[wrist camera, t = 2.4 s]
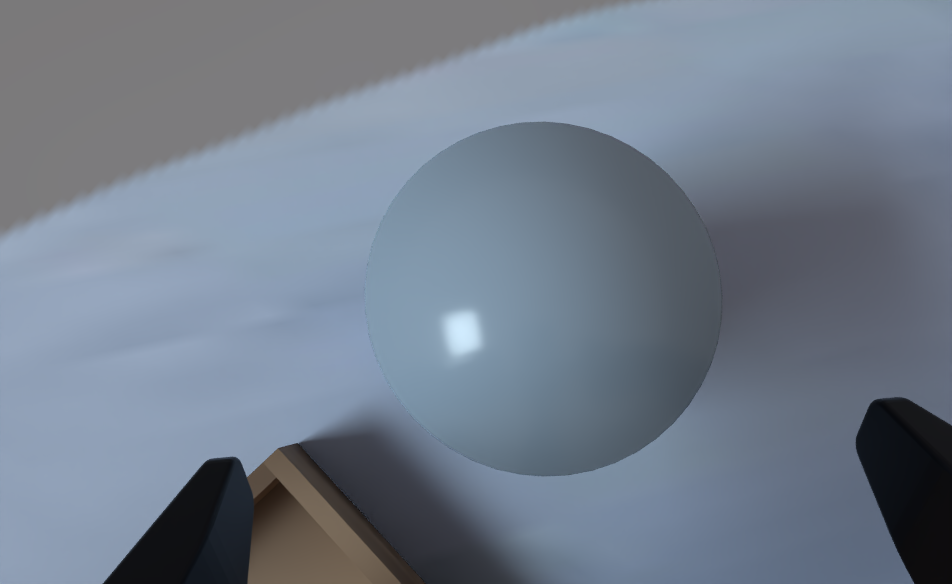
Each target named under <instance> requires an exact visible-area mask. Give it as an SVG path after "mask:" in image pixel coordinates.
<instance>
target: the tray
mask: <svg viewBox="0 0 952 584" xmlns="http://www.w3.org/2000/svg"><path fill="white" fill-rule="evenodd" d="M247 479H248V482H249V485H250V487H251V490H252V493H253V498H254V515H253V526H252V538H251V549H250V561H249V572H248V584H426V583H425V582H424V581H423V580H422V579H421V578H420V577H419V576H418V575H417V574H416V572H415V571H414V570H413V569H412V568H411V567H410V566H409V565H408V564H407V563H406V561H405V560H404V559H403V558H402V557H401V556H400V555H399V554H398V553H397V552H396V551H395V549H394V548H393V547H392V546H391V545H390V544H389V543H388V542H387V541H386V540H385V539H384V537H383V536H382V535H381V534H380V533H379V532H378V531H377V530H376V529H375V528H374V526H373V525H372V524H371V523H370V522H369V521H368V520H367V519H366V518H365V517H364V516H363V514H362V513H361V512H360V511H359V510H358V509H357V508H356V507H355V506H354V505H353V503H352V502H351V501H350V500H349V499H348V498H347V497H346V496H345V495H344V494H343V493H342V491H341V490H340V489H339V488H338V487H337V486H336V485H335V484H334V483H333V482H332V480H331V479H330V478H329V477H328V476H327V475H326V474H325V473H324V472H323V471H322V470H321V468H320V467H319V466H318V465H317V464H316V463H315V462H314V461H313V460H312V459H311V458H310V456H309V455H308V454H307V453H306V452H305V451H304V450H303V449H302V448H301V447H300V445H299V444H298V443H296V444H292V445H288V446H285V447H281V448H278V449H277V450H276V451H275V452H274V453H273V454H272V455H270V456H269V457H268V458H267V459H266V460H265V461H264V462H263V463H262V464H261V465H260V466H259V467H258V468H257V469H256V470H255V471H253V472H252V473H251V474H250V475H249V476H248V477H247Z"/></svg>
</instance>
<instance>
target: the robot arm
mask: <svg viewBox="0 0 952 584" xmlns="http://www.w3.org/2000/svg"><path fill="white" fill-rule="evenodd" d="M856 450H857V454H858V457H859V459H860V461H861V464H862V466H863V469H864V471H865V474H866V476H867V479H868V481H869V484H870V486H871V489H872V491H873V493H874V496H875V498H876V501H877V503H878V506H879V508H880V511H881V513H882V516H883V518H884V520H885V523H886V525H887V528H888V530H889V533H890V535H891V537H892V540H893V542H894V544H895V546H896V549H897V551H898V553H899V555H900V557H901V559H902V561H903V563H904V565H905V567H906V569H907V571H908V572H909V574H910V576H911V578H912V580H913V582H914V584H952V425H950V424H948V423H947V422H945V421H943V420H942V419H940V418H938V417H937V416H935V415H933V414H932V413H930V412H928V411H927V410H925V409H924V408H922V407H920V406H919V405H917V404H915V403H914V402H912V401H910V400H908V399H906V398H902V397H894V398H883V399H876V400H874V401H873V402H872V403H871V404H870V406H869V408H868V410H867V412H866V415H865V417H864V419H863V422H862V424H861V426H860V429H859V431H858V434H857V436H856ZM253 515H254V498H253V493H252V490H251V487H250V485H249V482H248V479H247V477H246V474H245V471H244V469H243V466H242V463H241V462H240V460H239V459H238V458H236V457H224V458H213V459H209V460H207V461H206V462H205V463H204V464H203V465H202V466H201V467H200V468H199V469H198V471H197V472H196V473H195V474H194V475H193V477H192V478H191V479H190V480H189V481H188V483H187V484H186V485H185V486H184V487H183V489H182V490H181V491H180V492H179V493H178V494H177V496H176V497H175V498H174V499H173V500H172V502H171V503H170V504H169V505H168V506H167V508H166V509H165V510H164V511H163V512H162V514H161V515H160V516H159V517H158V518H157V520H156V521H155V522H154V523H153V524H152V526H151V527H150V528H149V529H148V530H147V532H146V533H145V534H144V535H143V536H142V537H141V539H140V540H139V541H138V542H137V543H136V545H135V546H134V547H133V548H132V549H131V551H130V552H129V553H128V554H127V555H126V557H125V558H124V559H123V560H122V561H121V563H120V564H119V565H118V566H117V567H116V569H115V570H114V571H113V572H112V573H111V575H110V576H109V577H108V578H107V579H106V580H105V582H104V583H103V584H248V572H249V561H250V549H251V538H252V526H253Z"/></svg>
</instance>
